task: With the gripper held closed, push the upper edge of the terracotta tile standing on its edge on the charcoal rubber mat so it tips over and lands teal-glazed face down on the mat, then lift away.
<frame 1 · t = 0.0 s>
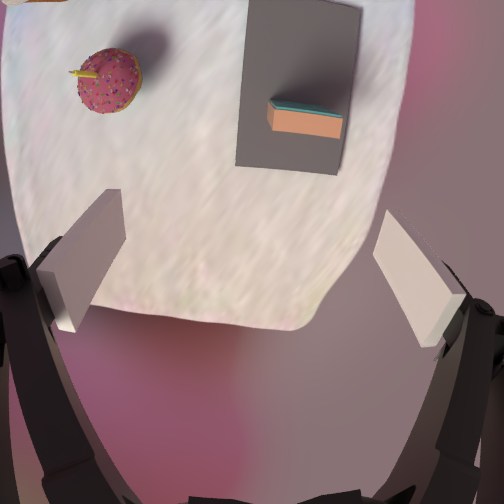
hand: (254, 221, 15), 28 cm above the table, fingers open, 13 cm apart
mat: (297, 82, 35), on the table
cupcake: (122, 78, 34), on the table
tile: (294, 112, 36), point 1 cm above the table, touching mat
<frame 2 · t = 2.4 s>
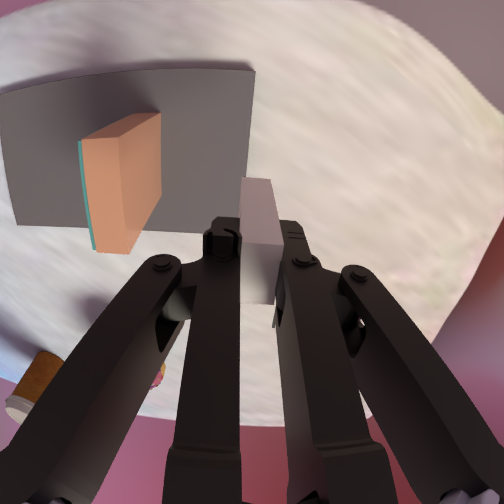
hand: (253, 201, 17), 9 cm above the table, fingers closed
mat: (107, 152, 24), on the table
tile: (147, 154, 23), point 1 cm above the table, touching mat
disposable coffee cup: (53, 362, 40), on the table
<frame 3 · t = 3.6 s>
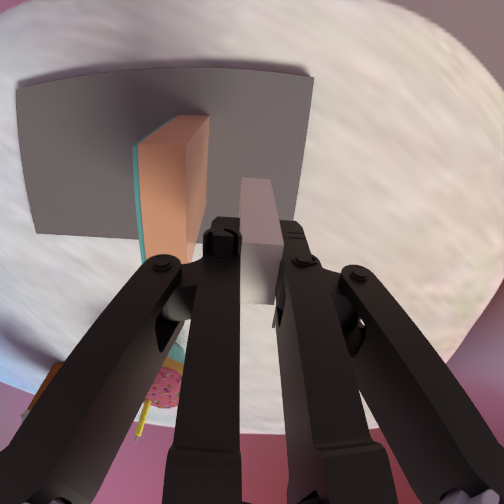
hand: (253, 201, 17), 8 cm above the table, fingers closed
mat: (144, 156, 22), on the table
cupcake: (165, 349, 35), on the table
tile: (192, 161, 22), point 1 cm above the table, touching mat
disposable coffee cup: (70, 373, 40), on the table
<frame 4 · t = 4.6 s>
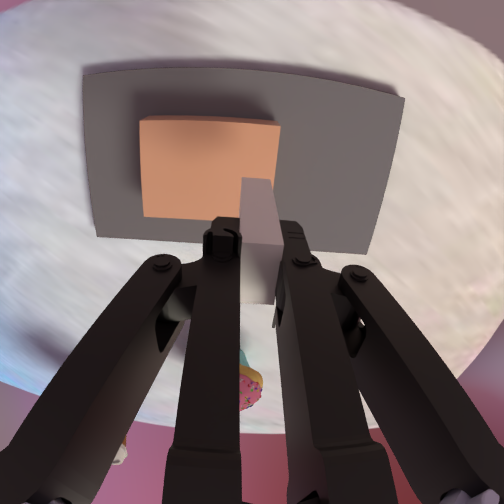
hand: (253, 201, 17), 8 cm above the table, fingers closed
mat: (236, 159, 23), on the table
cupcake: (225, 354, 36), on the table
tile: (273, 172, 21), point 2 cm above the table, tilted 90°, touching mat
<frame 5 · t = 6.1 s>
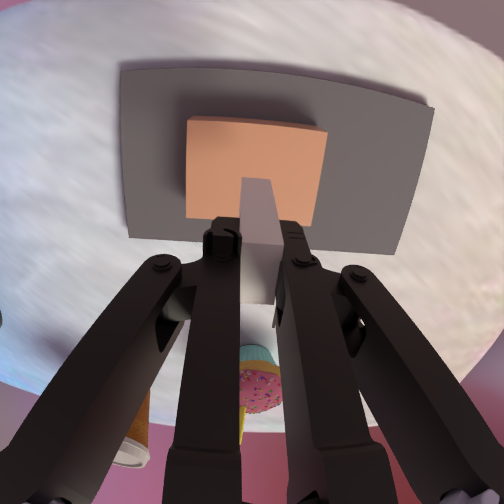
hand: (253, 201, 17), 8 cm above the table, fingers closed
mat: (277, 162, 23), on the table
cupcake: (251, 354, 36), on the table
tile: (316, 176, 22), point 2 cm above the table, tilted 90°, touching mat
disposable coffee cup: (130, 384, 40), on the table
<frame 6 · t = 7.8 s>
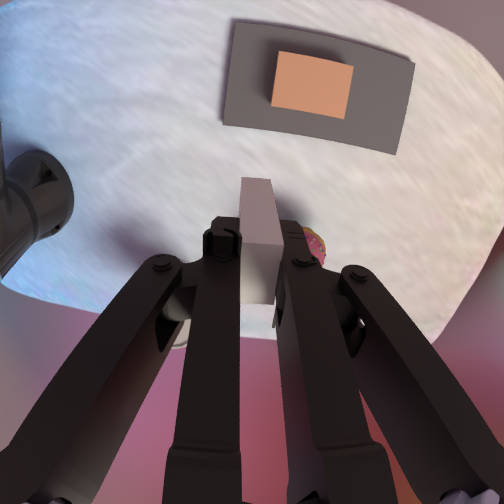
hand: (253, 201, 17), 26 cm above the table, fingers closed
mat: (322, 86, 35), on the table
cupcake: (292, 237, 48), on the table
tile: (346, 92, 33), point 2 cm above the table, tilted 90°, touching mat
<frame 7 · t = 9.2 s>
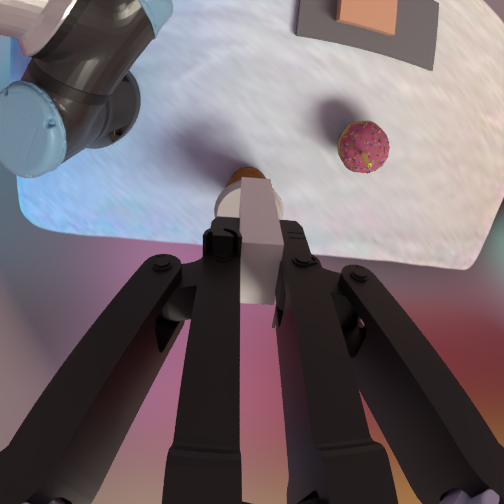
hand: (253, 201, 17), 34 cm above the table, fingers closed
mat: (372, 13, 35), on the table
cupcake: (354, 140, 48), on the table
tile: (393, 16, 33), point 2 cm above the table, tilted 90°, touching mat
disposable coffee cup: (248, 184, 52), on the table
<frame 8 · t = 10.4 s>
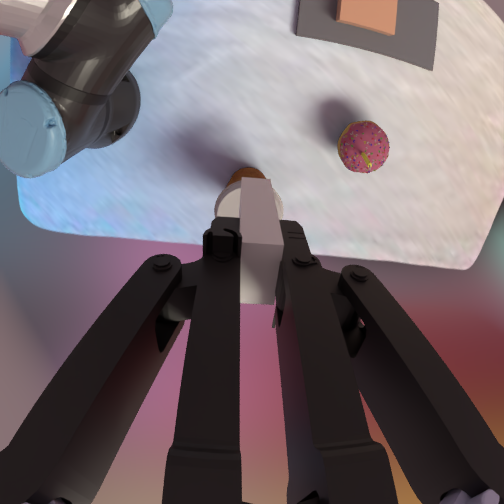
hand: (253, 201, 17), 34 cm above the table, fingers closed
mat: (372, 13, 35), on the table
cupcake: (354, 140, 48), on the table
tile: (393, 16, 33), point 2 cm above the table, tilted 90°, touching mat
disposable coffee cup: (248, 184, 52), on the table
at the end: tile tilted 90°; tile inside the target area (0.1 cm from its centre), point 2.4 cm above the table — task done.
